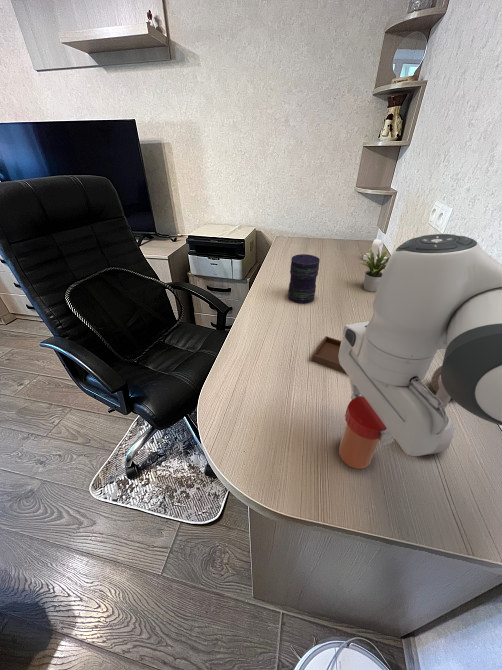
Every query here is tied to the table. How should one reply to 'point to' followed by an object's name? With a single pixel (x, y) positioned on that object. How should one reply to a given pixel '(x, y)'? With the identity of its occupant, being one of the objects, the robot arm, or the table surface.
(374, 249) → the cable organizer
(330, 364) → the tray
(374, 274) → the house plant
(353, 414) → the jar lid
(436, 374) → the vase
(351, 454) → the jar
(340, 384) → the table surface
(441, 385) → the potion bottle
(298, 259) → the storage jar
